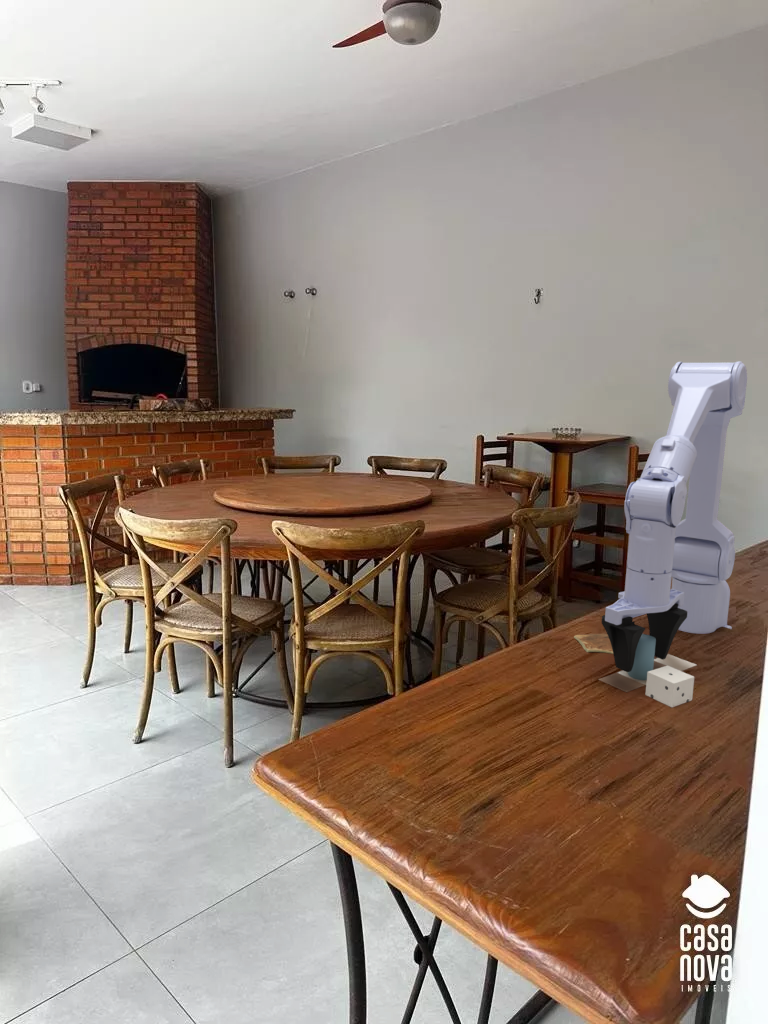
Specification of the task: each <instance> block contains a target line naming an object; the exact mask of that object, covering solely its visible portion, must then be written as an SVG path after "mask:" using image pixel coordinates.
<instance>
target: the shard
mask: <svg viewBox="0 0 768 1024" xmlns="http://www.w3.org/2000/svg"><path fill="white" fill-rule="evenodd" d="M573 638H574V639H575V640H576V641H577V642H578V643H579V644H580V645H581V646H582V649H583V650H584V651H585V652H586V653H604V654H605V653H606V654H612V655H614V654H613V650H612V646H611V642H610V639H609V637H608V634H607V633H585V634H582V633H581V634H576V635H574V636H573Z"/></svg>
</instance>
